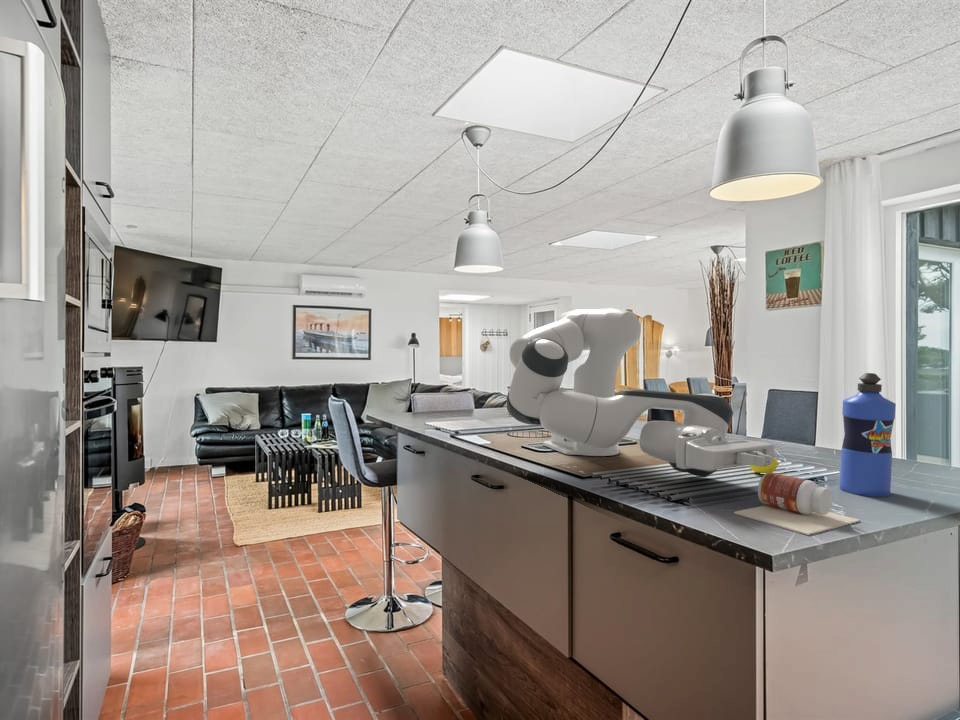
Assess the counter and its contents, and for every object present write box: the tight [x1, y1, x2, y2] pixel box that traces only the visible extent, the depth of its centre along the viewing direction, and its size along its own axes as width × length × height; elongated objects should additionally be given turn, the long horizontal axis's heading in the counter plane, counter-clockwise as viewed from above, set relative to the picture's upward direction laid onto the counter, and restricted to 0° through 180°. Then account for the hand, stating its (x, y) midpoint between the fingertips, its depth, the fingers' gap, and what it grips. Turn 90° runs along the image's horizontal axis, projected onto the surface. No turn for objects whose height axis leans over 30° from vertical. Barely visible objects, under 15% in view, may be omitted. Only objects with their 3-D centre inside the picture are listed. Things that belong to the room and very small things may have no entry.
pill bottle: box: [757, 472, 834, 515], centre depth 109 cm, size 6×6×11 cm
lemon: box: [749, 456, 779, 473], centre depth 141 cm, size 7×5×5 cm
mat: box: [733, 504, 861, 536], centre depth 107 cm, size 14×16×1 cm
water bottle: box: [839, 372, 897, 498], centre depth 126 cm, size 9×9×25 cm
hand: (768, 461), depth 111 cm, fingers closed
